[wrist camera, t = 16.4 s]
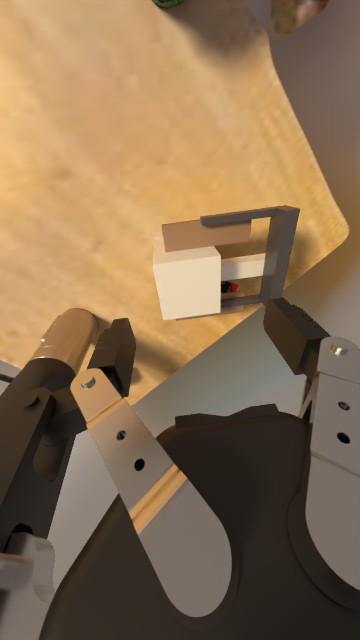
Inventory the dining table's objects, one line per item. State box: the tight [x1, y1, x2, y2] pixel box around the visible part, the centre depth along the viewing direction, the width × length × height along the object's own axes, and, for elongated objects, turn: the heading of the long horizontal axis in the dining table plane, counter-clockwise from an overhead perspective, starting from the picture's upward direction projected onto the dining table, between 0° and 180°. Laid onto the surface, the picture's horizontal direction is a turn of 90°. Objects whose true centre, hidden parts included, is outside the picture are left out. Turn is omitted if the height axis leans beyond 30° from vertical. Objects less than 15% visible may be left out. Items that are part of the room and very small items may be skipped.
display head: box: [152, 219, 266, 321], centre depth 39 cm, size 22×18×17 cm
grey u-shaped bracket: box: [200, 205, 300, 308], centre depth 33 cm, size 13×16×4 cm
